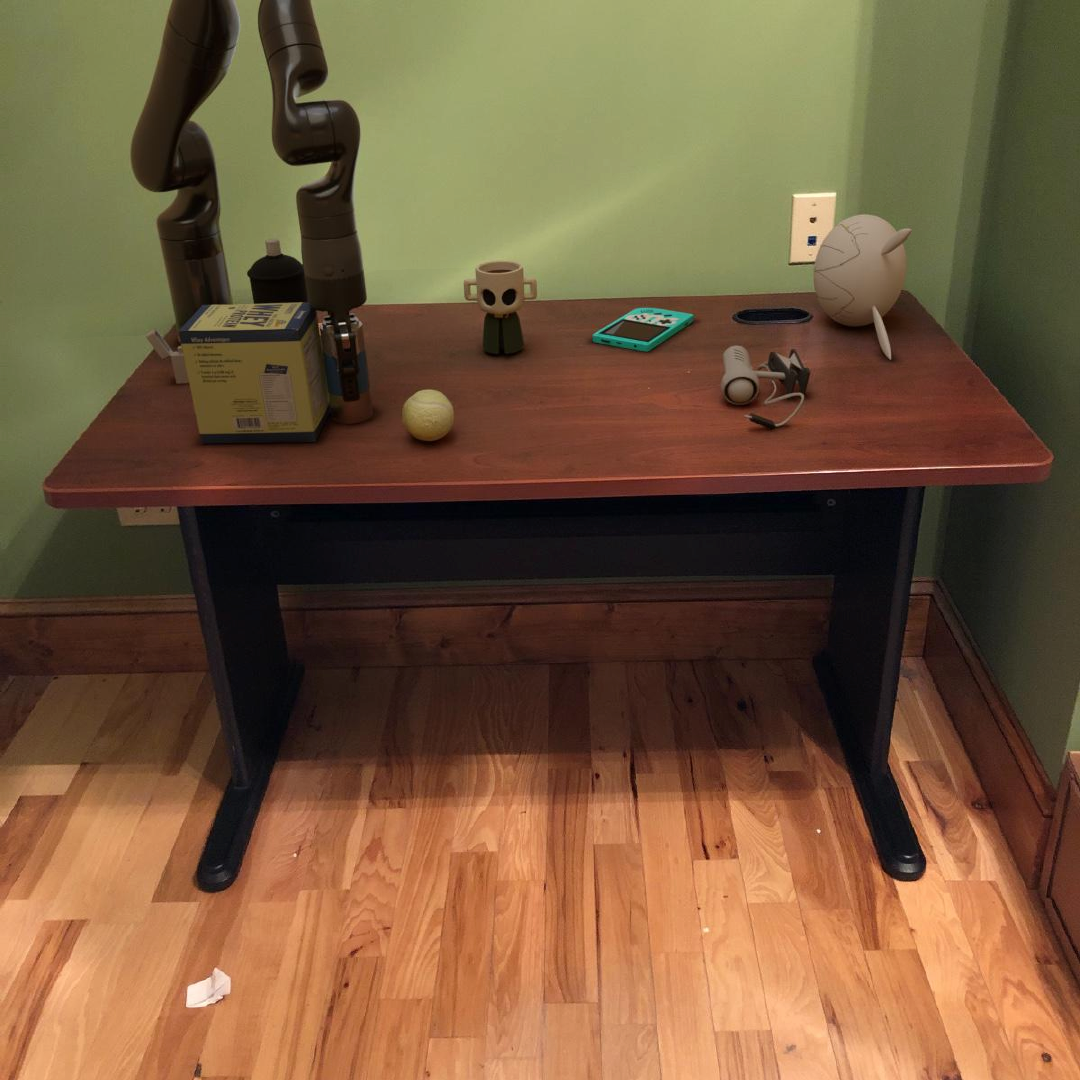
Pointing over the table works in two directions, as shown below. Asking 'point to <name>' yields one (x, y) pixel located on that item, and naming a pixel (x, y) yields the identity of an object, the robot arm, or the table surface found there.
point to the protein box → (256, 373)
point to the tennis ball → (428, 415)
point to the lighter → (166, 351)
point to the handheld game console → (643, 328)
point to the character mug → (501, 303)
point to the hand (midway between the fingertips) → (349, 391)
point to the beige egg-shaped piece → (861, 272)
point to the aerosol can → (277, 277)
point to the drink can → (339, 407)
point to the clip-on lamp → (744, 382)
